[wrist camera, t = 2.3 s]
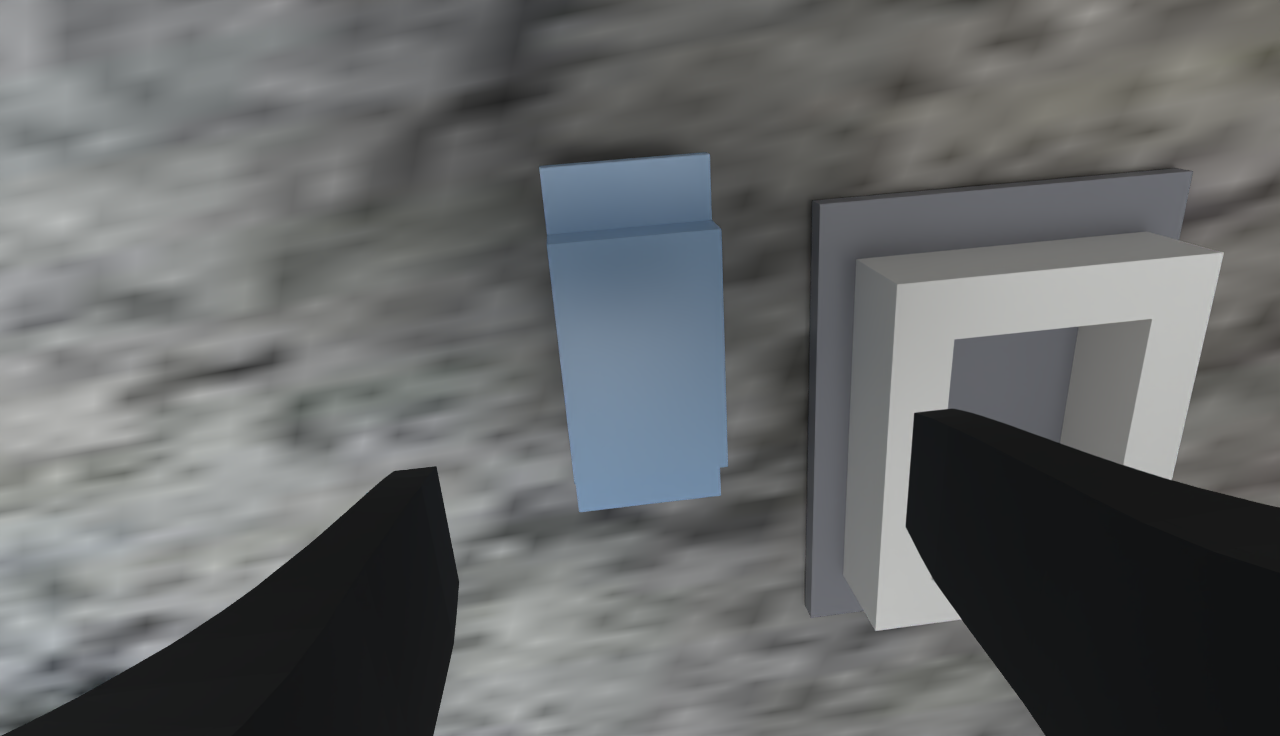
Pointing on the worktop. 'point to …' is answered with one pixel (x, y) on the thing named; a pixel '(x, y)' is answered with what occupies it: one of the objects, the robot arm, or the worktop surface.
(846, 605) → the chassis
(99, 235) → the worktop surface
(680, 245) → the block
